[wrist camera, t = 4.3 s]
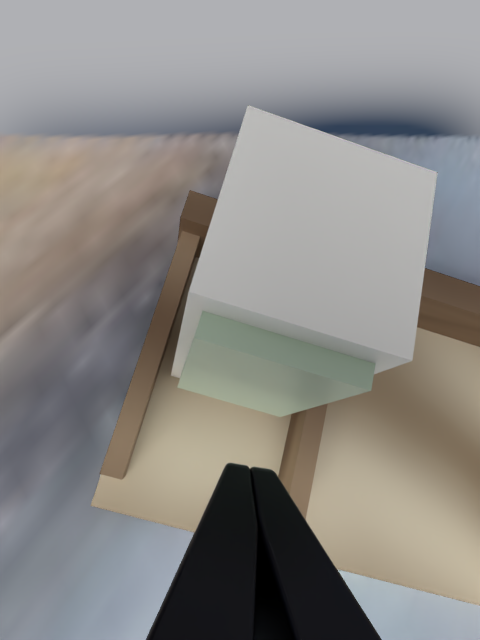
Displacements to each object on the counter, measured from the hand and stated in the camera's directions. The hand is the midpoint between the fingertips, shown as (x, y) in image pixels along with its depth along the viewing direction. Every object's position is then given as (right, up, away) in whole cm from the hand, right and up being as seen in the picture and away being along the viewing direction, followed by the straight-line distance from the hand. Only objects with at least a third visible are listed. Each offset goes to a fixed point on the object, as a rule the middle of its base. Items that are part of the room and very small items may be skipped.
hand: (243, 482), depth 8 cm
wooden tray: (+6, -1, +8) cm, 10 cm away
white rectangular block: (0, +2, +8) cm, 8 cm away
